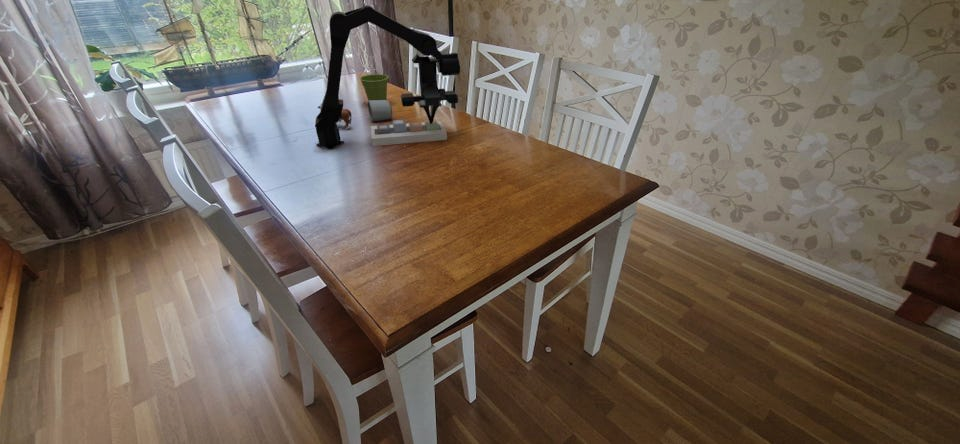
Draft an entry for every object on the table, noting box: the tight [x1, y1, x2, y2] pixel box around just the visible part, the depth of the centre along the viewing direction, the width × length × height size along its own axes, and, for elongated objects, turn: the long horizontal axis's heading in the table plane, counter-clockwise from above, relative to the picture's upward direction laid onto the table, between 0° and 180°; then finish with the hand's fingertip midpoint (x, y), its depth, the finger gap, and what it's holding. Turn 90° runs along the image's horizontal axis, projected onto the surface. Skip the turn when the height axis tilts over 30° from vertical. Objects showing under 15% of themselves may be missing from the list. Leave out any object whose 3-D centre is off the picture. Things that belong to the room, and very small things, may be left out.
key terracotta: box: [409, 121, 423, 132], centre depth 131 cm, size 4×4×3 cm
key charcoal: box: [376, 124, 391, 135], centre depth 129 cm, size 4×4×3 cm
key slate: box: [392, 119, 407, 133], centre depth 129 cm, size 4×4×3 cm
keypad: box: [370, 120, 448, 147], centre depth 131 cm, size 25×12×3 cm, turn 105°
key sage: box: [424, 120, 439, 131], centre depth 132 cm, size 4×4×3 cm
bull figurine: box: [317, 103, 353, 131], centre depth 137 cm, size 4×13×8 cm, turn 71°
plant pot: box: [359, 73, 390, 102], centre depth 159 cm, size 12×12×11 cm
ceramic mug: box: [367, 100, 393, 122], centre depth 145 cm, size 11×8×8 cm
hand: (431, 123), depth 131 cm, fingers closed, pressing on key sage
